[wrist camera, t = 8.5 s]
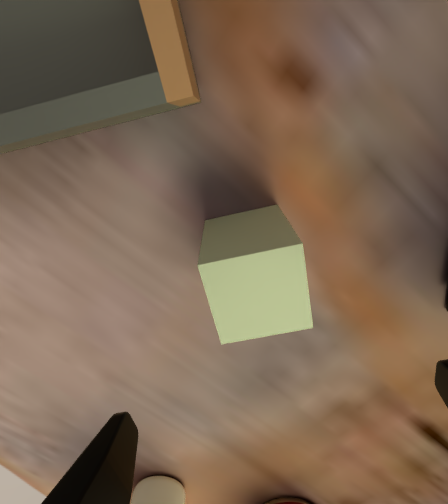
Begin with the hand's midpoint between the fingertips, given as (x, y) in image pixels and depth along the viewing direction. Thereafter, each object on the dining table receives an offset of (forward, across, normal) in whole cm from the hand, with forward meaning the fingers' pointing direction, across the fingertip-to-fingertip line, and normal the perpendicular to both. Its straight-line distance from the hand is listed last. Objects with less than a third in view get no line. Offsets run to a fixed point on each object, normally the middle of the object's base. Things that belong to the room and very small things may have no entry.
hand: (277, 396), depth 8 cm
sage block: (+11, 0, 0) cm, 11 cm away
